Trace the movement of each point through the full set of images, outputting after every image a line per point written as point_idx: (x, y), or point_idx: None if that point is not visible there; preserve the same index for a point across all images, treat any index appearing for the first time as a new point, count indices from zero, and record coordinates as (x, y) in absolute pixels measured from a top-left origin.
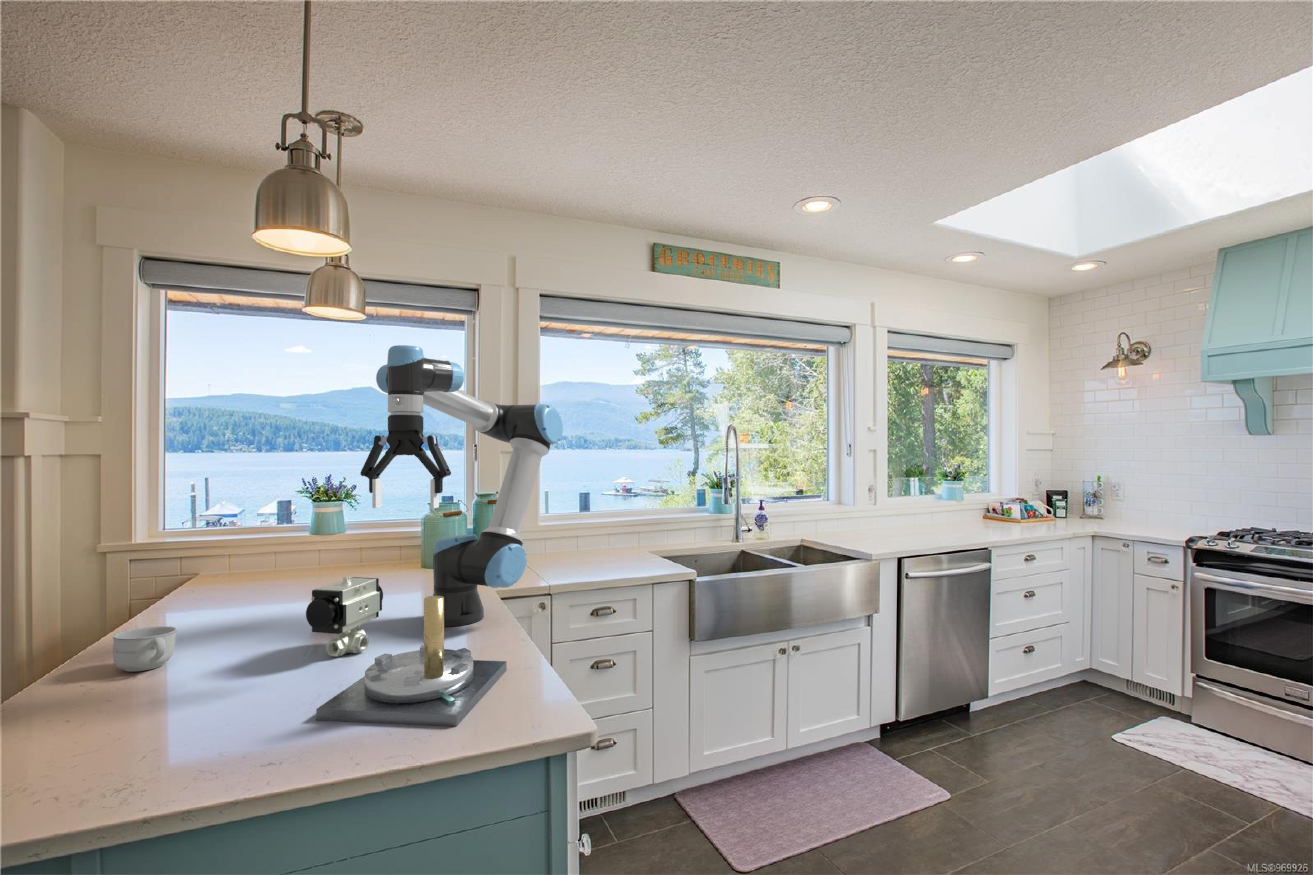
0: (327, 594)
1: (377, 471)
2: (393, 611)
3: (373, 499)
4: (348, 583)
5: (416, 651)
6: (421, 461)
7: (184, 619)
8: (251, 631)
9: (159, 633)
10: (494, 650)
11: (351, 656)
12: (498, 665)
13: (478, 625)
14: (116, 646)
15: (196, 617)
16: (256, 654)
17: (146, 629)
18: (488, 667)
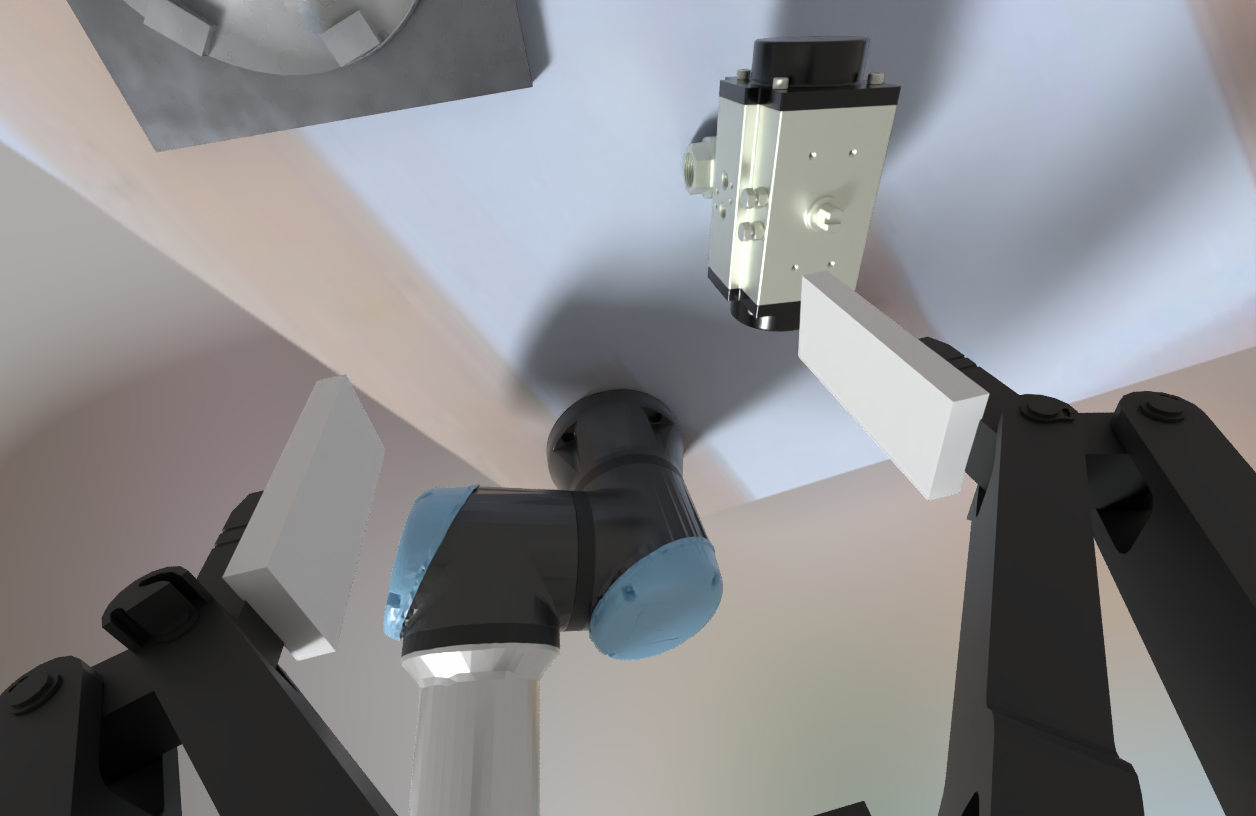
0: (829, 88)
1: (1002, 474)
2: (790, 441)
3: (855, 300)
4: (811, 206)
5: (384, 22)
6: (349, 799)
7: (1236, 253)
8: (1049, 227)
9: None
10: (345, 285)
11: (698, 131)
12: (144, 107)
13: (528, 426)
14: None
15: (1214, 273)
16: (958, 73)
17: None
18: (160, 81)
